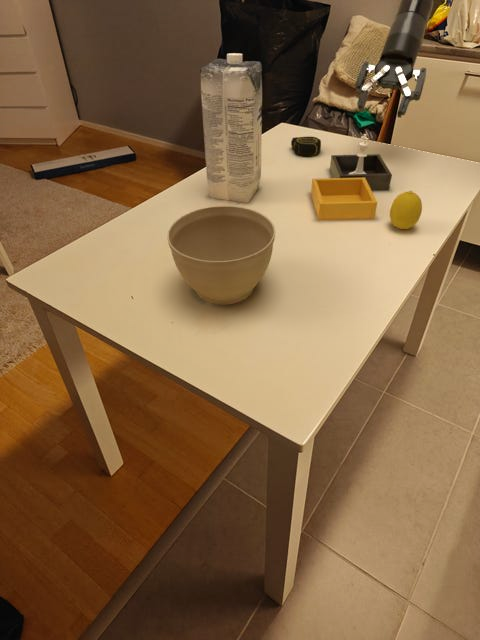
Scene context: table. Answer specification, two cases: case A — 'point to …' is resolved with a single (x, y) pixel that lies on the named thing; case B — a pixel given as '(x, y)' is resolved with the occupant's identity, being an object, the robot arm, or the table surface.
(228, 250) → the planter bowl
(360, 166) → the chess piece
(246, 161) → the juice carton
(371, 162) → the dark bin
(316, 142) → the tape measure
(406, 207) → the lemon
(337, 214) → the yellow bin
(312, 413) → the table surface
